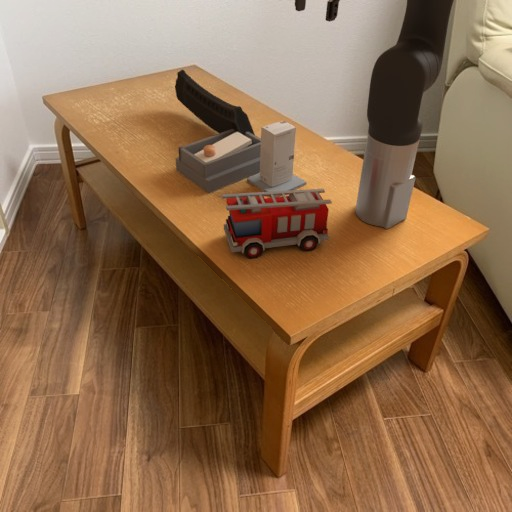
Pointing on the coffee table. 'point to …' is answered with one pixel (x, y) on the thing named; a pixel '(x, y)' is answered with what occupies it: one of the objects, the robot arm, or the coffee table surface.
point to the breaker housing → (219, 163)
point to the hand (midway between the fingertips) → (314, 15)
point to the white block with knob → (224, 147)
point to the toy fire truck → (276, 220)
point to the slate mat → (286, 186)
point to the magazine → (210, 107)
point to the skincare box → (277, 153)
